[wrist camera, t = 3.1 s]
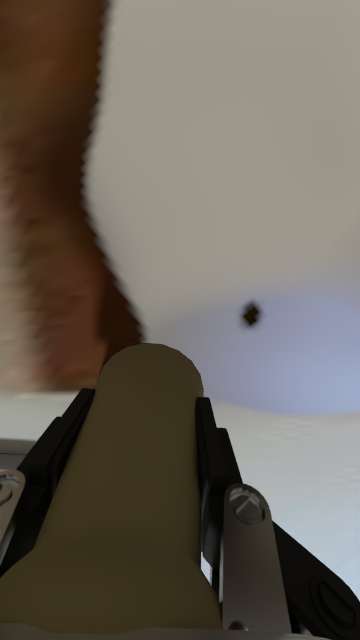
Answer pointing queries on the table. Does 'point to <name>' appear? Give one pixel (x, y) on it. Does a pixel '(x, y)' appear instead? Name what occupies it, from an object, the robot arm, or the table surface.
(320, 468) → the table surface
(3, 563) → the robot arm
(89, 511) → the cork
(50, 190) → the table surface
